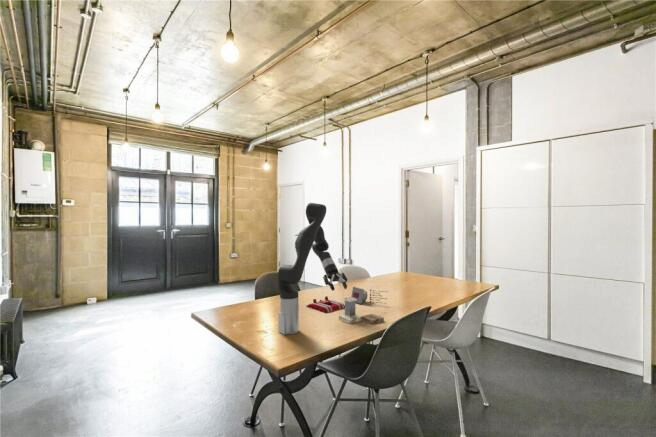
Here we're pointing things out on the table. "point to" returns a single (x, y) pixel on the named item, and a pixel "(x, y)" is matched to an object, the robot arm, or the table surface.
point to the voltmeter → (362, 295)
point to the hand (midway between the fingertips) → (339, 289)
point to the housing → (350, 307)
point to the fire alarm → (326, 305)
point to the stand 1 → (350, 319)
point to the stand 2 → (372, 318)
